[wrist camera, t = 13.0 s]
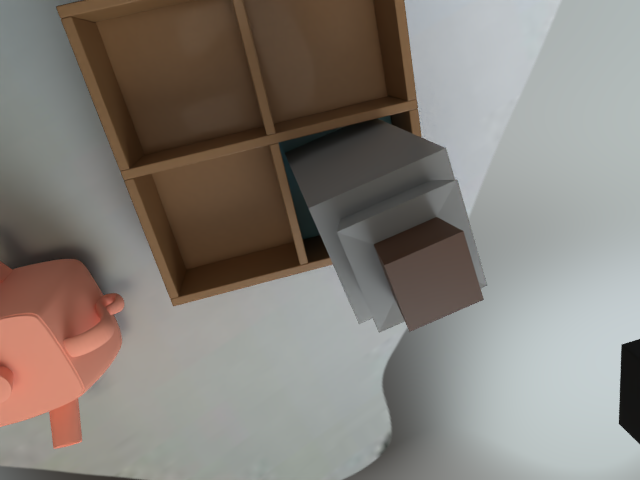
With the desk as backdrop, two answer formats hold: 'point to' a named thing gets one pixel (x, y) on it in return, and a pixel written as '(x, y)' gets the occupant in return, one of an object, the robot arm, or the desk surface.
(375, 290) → the perfume bottle
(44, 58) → the desk surface
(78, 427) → the teapot
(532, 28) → the desk surface
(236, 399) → the desk surface
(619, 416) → the robot arm
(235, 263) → the bottle tray
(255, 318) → the desk surface
